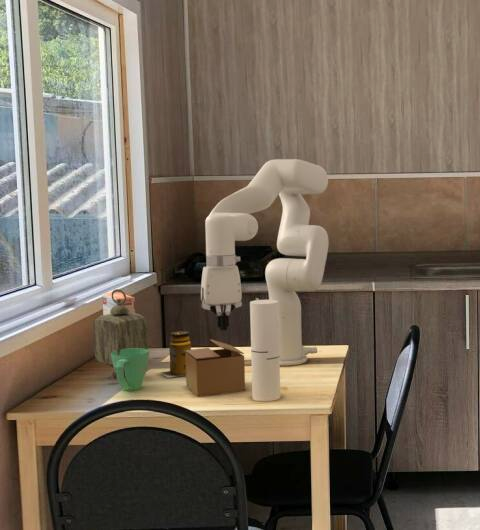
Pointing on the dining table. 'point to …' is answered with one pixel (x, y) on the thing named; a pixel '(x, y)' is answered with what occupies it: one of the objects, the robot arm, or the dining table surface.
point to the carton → (214, 371)
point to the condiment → (178, 354)
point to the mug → (130, 367)
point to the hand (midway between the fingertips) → (222, 329)
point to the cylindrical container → (265, 350)
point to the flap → (226, 346)
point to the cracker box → (109, 303)
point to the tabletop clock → (118, 332)
